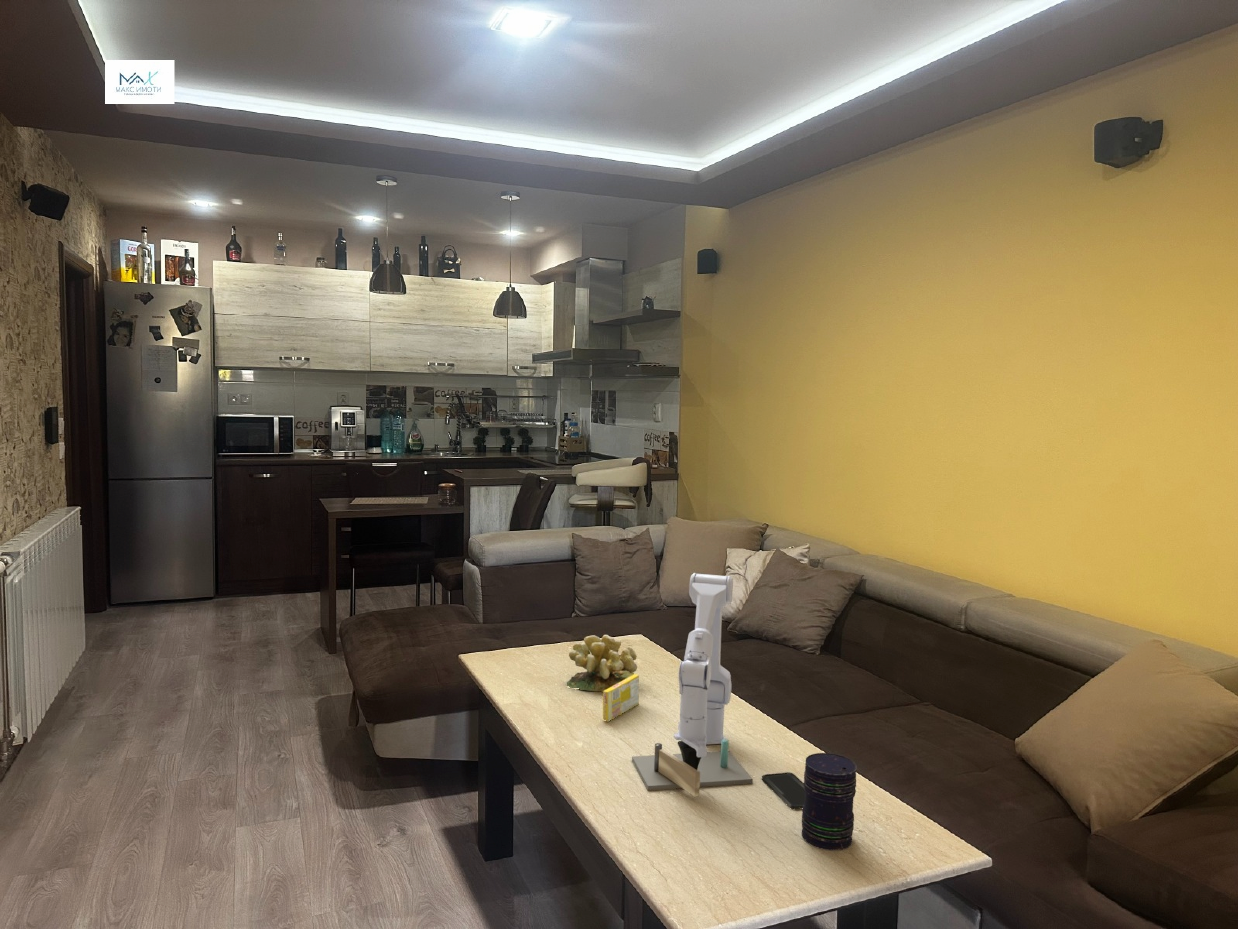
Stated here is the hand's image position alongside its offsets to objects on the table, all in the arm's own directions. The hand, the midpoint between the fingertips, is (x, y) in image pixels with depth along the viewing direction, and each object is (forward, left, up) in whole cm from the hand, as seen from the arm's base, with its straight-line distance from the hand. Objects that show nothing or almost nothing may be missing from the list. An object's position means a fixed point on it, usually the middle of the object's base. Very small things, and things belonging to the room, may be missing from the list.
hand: (690, 775), depth 183 cm
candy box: (-45, -6, -3) cm, 46 cm away
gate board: (-8, +2, -3) cm, 9 cm away
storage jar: (+24, +20, -3) cm, 32 cm away
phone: (+5, +21, -3) cm, 22 cm away
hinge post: (-7, -6, -3) cm, 9 cm away
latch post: (-7, +10, -3) cm, 13 cm away
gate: (0, -3, -1) cm, 3 cm away
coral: (-69, -7, -3) cm, 70 cm away
